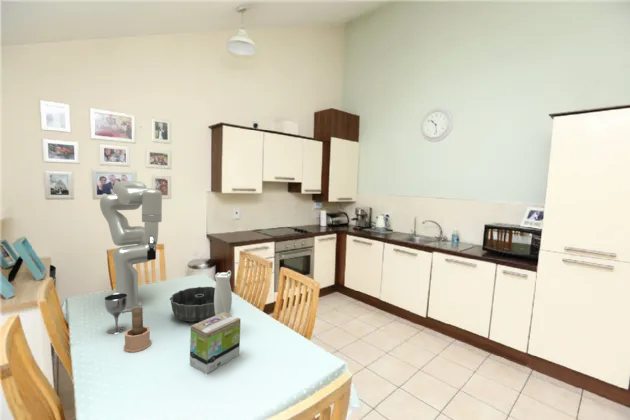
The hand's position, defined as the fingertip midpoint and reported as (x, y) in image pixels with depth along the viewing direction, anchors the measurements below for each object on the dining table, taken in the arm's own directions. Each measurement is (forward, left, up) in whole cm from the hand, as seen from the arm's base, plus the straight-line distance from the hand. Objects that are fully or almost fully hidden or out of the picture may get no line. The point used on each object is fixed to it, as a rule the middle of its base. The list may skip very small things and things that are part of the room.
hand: (151, 256), depth 129 cm
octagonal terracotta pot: (+16, -5, -32) cm, 36 cm away
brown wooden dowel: (+16, -5, -31) cm, 35 cm away
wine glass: (-2, -13, -32) cm, 35 cm away
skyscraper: (+20, +27, -32) cm, 46 cm away
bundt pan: (-3, +21, -32) cm, 38 cm away
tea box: (+39, +20, -32) cm, 54 cm away
